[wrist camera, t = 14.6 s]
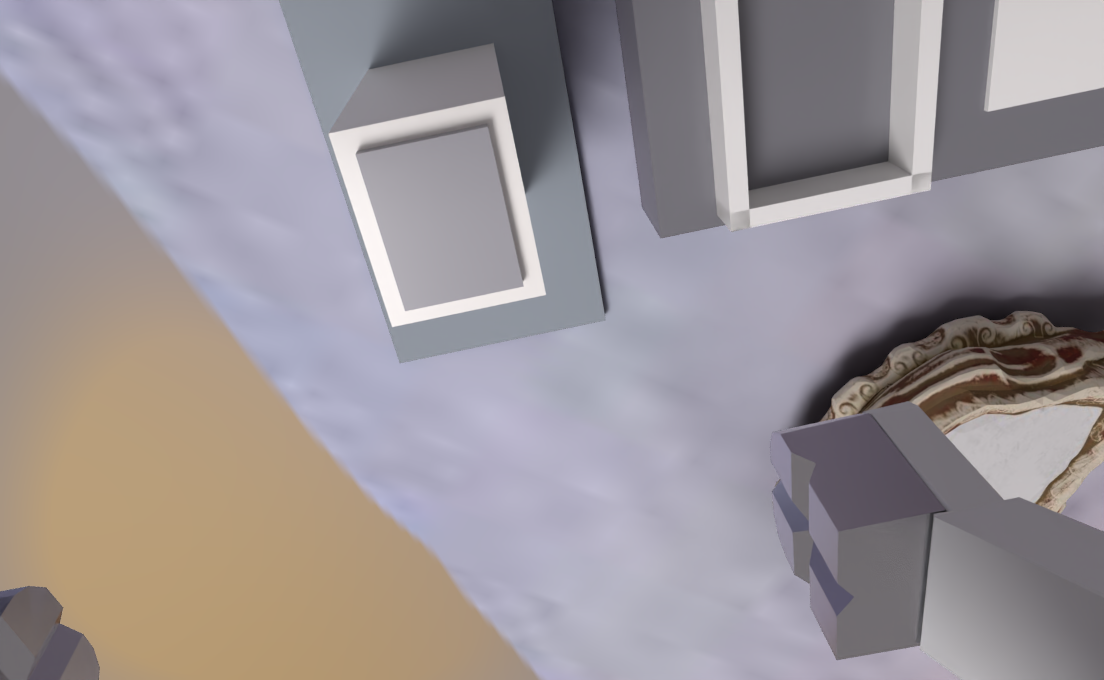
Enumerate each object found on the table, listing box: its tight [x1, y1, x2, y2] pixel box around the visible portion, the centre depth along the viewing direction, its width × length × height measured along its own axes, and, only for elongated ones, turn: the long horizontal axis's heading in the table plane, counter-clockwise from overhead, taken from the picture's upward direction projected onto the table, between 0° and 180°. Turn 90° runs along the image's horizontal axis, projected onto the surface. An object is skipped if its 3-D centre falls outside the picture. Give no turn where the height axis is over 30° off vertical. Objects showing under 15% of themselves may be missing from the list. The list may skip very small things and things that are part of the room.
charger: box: [328, 43, 546, 327], centre depth 22 cm, size 5×4×8 cm
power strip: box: [615, 0, 1104, 238], centre depth 23 cm, size 8×18×4 cm, turn 100°
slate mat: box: [279, 0, 605, 363], centre depth 25 cm, size 16×8×1 cm, turn 10°
